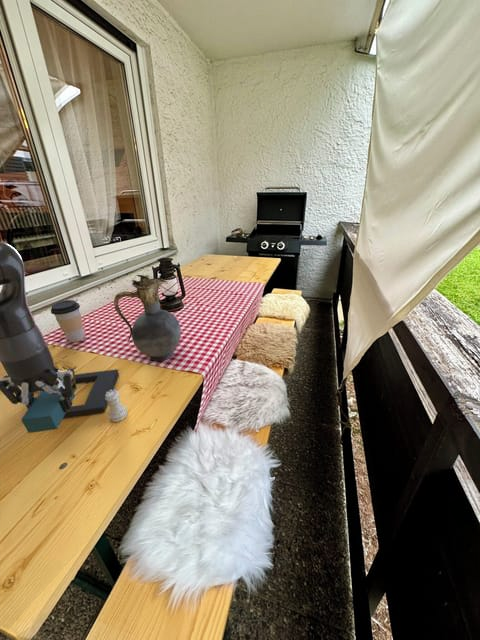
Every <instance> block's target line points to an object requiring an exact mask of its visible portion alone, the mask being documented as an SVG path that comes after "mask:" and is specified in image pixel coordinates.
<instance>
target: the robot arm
mask: <svg viewBox="0 0 480 640" xmlns="http://www.w3.org/2000/svg"><path fill="white" fill-rule="evenodd" d="M25 275H26V273H25V265H24V261H23V259H22V256H21V255H20V253H19V252H18V251H17V249H15V247H13V246H12V245H10V244H9V243H6V242H3V241H0V286H1V290H0V364H1V365H2V367H3V369H4V371H5V372H6V373H5V374H6V375H4V376H2V378H1V379H0V392H1V393H2V394H3V395H4V396H5V398H6V399H8V401H9V402H10V403H11V404H13V405H17V404H22V405H23V406H25V407H26V409H27V410H28V409H29V408H30V406H31V405H32V404H33V402H34V401H35V399H36V398H37V396H35V394H36V393H35V392H37V391H46V392H47V393H48V394H50V395H54V396H55V397H56V398H57V399H58V400H59V403H60V405H61V407H62V409H63V412H68V411H69V409H70V408H71V406H73V401H71V398H70V397H72V395H73V393H74V394H75V392H76V390H77V383H76V380H75V375H76V373H75V369H74V368H71V367H70V368H68V369H67V370H59V368H57V367H56V366H55V363H54V358H53V356H52V354H51V351H50V348H49V346H48V344H47V341H46V339H45V337H44V335H43V333H42V331H41V329H40V328H39V326H38V324H37V323H36V320H35V318H34V315H33V313H32V310H31V308H30V306H29V303H28V298H27V291H26V276H25ZM57 377H60V378H61V380H62V381H61V380H59V379H58V378H57ZM62 382H64V386H63V383H62ZM53 385H54V387H53V388H52V386H53ZM59 391H60V392H59Z"/></svg>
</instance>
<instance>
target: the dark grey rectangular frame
mask: <svg viewBox="0 0 480 640" xmlns="http://www.w3.org/2000/svg"><path fill="white" fill-rule="evenodd" d="M119 375H120V373H119V370H118V369H109V370H101V371H93V372H86V373H77V374H76V373H75V380H76V384H84V383H91V382H92V383H93V382H94V383H93V385H92V387H91V389H90V391H89V393H88V395H87V398H86V399H85V402H84V404H79V405H72V406H71V408H70V409H69V411H68V412H66V414H65V415H64V417H63V419H69V418H76V417H83V416H90V415H96V414H103V413H105V412H106V410H107V408H108V405H109V404H108V401H107V400H106V399H105V396H106V394H107V392H110V390H112V391H113V390H115V389H114V388H115V387H116V386H115V385H116V383H117V381H118V377H119ZM57 378H58V379H59V380H61V378H60V377H57ZM61 381H62V380H61ZM62 383H63V384H64V382H62Z"/></svg>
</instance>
